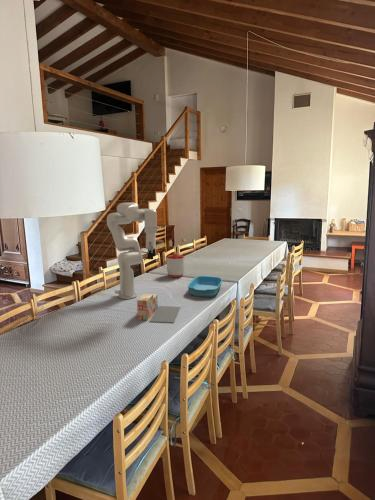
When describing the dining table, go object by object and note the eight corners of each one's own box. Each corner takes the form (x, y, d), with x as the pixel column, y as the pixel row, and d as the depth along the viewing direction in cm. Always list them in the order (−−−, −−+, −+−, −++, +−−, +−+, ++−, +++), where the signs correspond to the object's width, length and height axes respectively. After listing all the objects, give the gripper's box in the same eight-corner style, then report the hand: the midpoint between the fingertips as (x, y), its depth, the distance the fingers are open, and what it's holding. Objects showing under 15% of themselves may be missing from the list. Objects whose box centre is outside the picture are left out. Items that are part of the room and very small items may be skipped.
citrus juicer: (166, 273, 317) (166, 251, 313) (185, 274, 314) (185, 251, 311) (162, 278, 302) (162, 254, 298) (183, 278, 299) (183, 255, 295)
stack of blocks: (148, 307, 232) (148, 289, 229) (157, 308, 230) (157, 289, 228) (137, 319, 211) (136, 299, 209) (147, 320, 210) (147, 300, 207)
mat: (149, 321, 207) (149, 321, 207) (158, 306, 233) (158, 305, 233) (173, 323, 206) (173, 322, 206) (180, 307, 231) (180, 306, 231)
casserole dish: (215, 300, 246) (216, 290, 245) (184, 297, 252) (184, 287, 250) (224, 285, 281) (224, 276, 280) (196, 283, 287) (196, 274, 285)
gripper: (146, 228, 228) (147, 255, 231) (142, 231, 211) (143, 260, 214) (158, 228, 228) (159, 255, 231) (155, 231, 211) (155, 260, 214)
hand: (151, 257), depth 222 cm, fingers open, 9 cm apart
